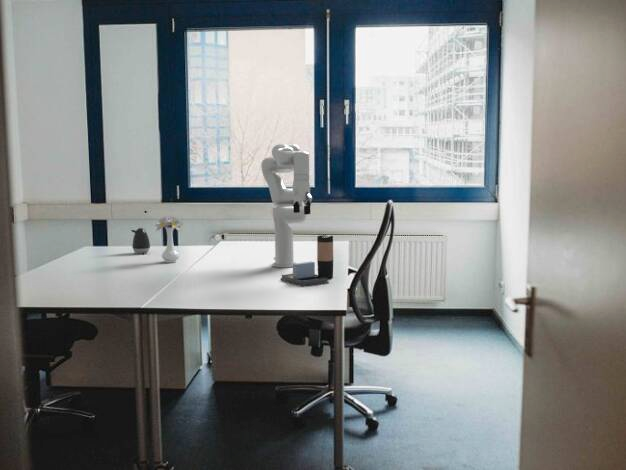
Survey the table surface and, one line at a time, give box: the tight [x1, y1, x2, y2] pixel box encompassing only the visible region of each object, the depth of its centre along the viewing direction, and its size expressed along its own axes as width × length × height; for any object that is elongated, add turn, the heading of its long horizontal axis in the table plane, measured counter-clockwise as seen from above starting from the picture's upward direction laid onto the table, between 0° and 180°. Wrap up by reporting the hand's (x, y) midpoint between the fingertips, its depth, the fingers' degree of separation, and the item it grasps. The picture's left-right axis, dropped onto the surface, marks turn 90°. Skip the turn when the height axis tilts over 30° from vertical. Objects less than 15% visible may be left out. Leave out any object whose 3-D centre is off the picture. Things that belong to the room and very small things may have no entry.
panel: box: [292, 261, 316, 279], centre depth 318 cm, size 3×10×8 cm, turn 122°
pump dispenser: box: [130, 227, 151, 255], centre depth 403 cm, size 10×10×15 cm
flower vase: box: [155, 216, 183, 264], centre depth 374 cm, size 13×18×25 cm
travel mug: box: [316, 234, 334, 280], centre depth 326 cm, size 8×8×20 cm
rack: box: [280, 273, 330, 288], centre depth 319 cm, size 20×14×3 cm
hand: (301, 213), depth 329 cm, fingers open, 9 cm apart
